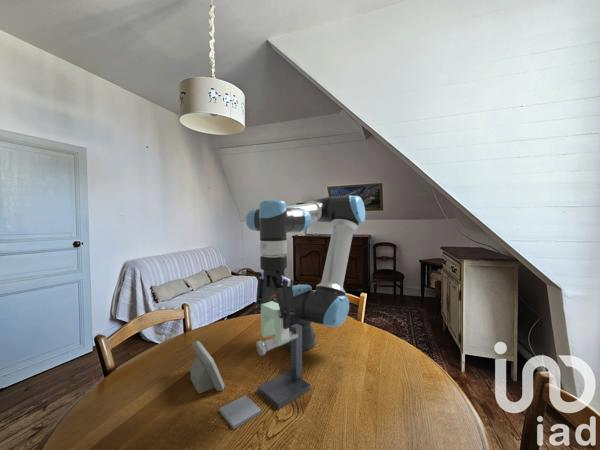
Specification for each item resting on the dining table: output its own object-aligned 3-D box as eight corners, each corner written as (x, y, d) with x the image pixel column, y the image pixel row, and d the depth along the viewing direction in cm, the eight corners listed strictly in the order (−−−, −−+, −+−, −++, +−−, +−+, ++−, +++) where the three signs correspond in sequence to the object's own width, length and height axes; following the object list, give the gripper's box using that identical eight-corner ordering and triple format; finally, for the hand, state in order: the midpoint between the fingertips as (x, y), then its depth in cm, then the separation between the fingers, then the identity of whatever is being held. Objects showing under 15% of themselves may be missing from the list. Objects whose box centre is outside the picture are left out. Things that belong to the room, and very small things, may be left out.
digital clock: (225, 393, 77) (225, 357, 77) (192, 402, 74) (191, 364, 73) (217, 365, 92) (217, 335, 92) (189, 371, 88) (189, 340, 88)
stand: (250, 394, 76) (250, 333, 76) (289, 374, 86) (289, 320, 86) (271, 413, 69) (270, 345, 68) (310, 389, 79) (310, 329, 78)
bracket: (261, 336, 77) (260, 304, 77) (272, 331, 80) (271, 301, 80) (277, 346, 71) (277, 311, 71) (289, 341, 74) (288, 307, 74)
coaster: (219, 411, 70) (219, 408, 70) (245, 397, 75) (245, 394, 75) (233, 429, 64) (233, 426, 64) (261, 413, 69) (261, 410, 69)
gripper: (243, 252, 80) (244, 326, 81) (286, 261, 64) (288, 352, 65) (263, 250, 85) (265, 319, 86) (308, 257, 69) (309, 342, 70)
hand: (275, 333), depth 76 cm, fingers closed on bracket, 8 cm apart
